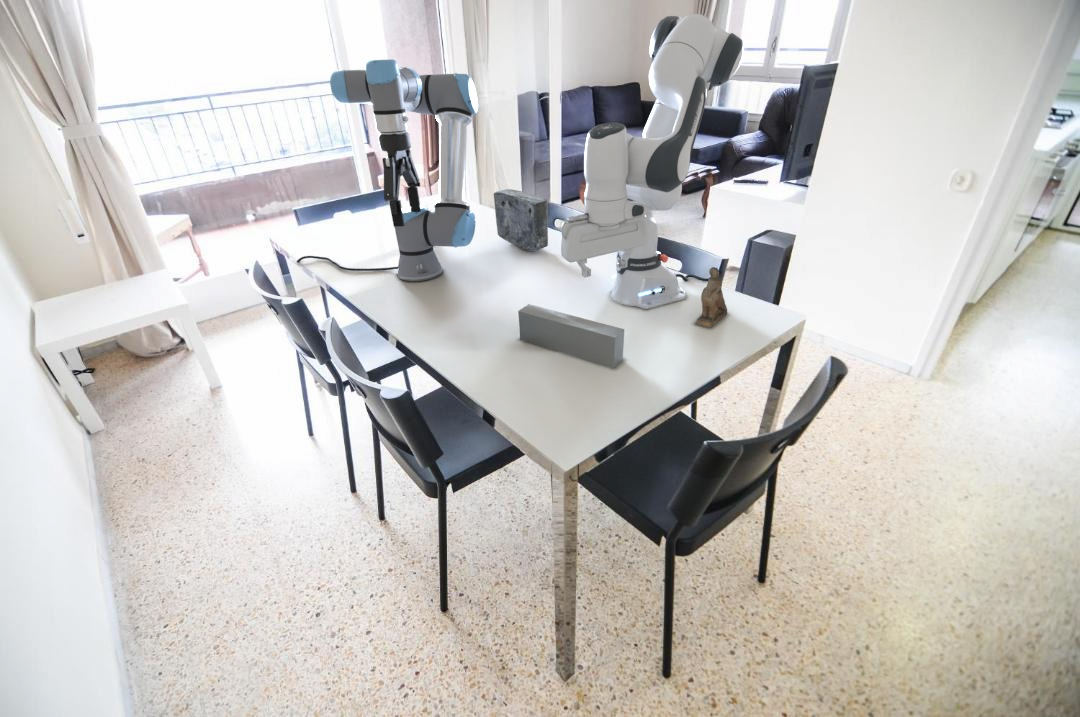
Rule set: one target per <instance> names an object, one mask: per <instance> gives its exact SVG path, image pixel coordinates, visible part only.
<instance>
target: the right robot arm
mask: <svg viewBox="0 0 1080 717" xmlns="http://www.w3.org/2000/svg"><path fill="white" fill-rule="evenodd" d="M648 54H649V58H650V59H651V61H652V63H651V65H650V68H649V72H648V85H649V88H650V91H651V93H652V94H653V96H654V98H655V99H656V100H655V101H654V104H653V106H652V109H651V111H650V114H649V116H648V118H647V121H646V123H645V125H644V128H643V130H642V134H641V135H642V136H634V135H633V134H630V133H628V131H627V127H626V125H625V124H623V123H620V122H606V123H601V124H598V125H595V126H593V127H592V128H591V129H590V130H588V132H587V135H586V140H585V144H584V145H585V147H584V157H583V176H584V179H585V190H584V194H583V195H584V196H583V197H584V198H583V200H584V201H583V202H584V203H583V204H584V206H583V207H584V210H583V211H584V213H581V214H579V215H575V216H574V215H573V216H572V215H571V216H568V217H567V219H566V220H564V221H563V222H562V224H561V235H562V236H561V242H560V243H561V244H560V245H561V246H560V254H561V255H560V256H562V258H563V259H564V260H565V261H567V262H569V263H575V262H576V264H578V266H579V268H580V269H581V277H583V278H584V279H586V278H589V277H592V268H590V267H589V266H586V264H587V263H588V259H593V258H596V257H600V256H605V255H609V254H613V253H616V261H615V267H616V268H615V270H616V273H615V274H613V275H611V279H612V280H613V279H614V285H613V288H612V291H611V293H610V297H611V299H612V300H613V301H614V302H616V303H619V304H620V305H624V306H631V307H637V308H641V309H645V310H649V309H653V308H656V307H659V306H660V307H661V306H664V305H667V304H670V303H674V302H678V301H682V300H684V299H686V293H685V291H684V290H683V289H682V288H681V287H680V286H679V280H678V278H681V279H682V281H683V282H688V281H689V278H692V279H696V280H698V281H702V282H708V279H709V278H710V277H707V278H704V277H700V276H698V275H696V274H686V275H684V274H681V273H675V272H673V270H672V271H671V270H670V269H669V268H668V267H667V266H665V264H663V263H668V261H669V257H668V256H667V255H666V254H665V253H663V254H662V253H661V252H660V251H658V241H659V230H660V229H659V224H658V221H657V220H656V219H655V217H654V214H653V212H652V211H656V212H657V211H660V212H661V211H663V212H665V211H669V210H670V209H672V208H673V207H674V206H676V204H677V203H678V201H679V200H680V198H681V195H682V190H683V183H684V182H685V181H686V179H687V176H688V174H689V170H690V165H691V159H692V153H693V149H694V145H695V142H696V138H697V136H698V131H699V128H700V125H701V122H702V118H703V114H704V110H705V107H706V101H707V93H708V92H707V90H708V91H709V92H710V91H712V90H713V88H715V87H721V86H722V85H724V84H726V83H727V82H729V81H730V79H731V78H732V77H734V75H735V74H736V73H737V71H738V69H739V68H740V65H741V63H742V60H743V56H744V41H743V39H742V38H741V37H740V36H738V35H737V34H735V33H733V32H731V33H730V32H727V31H725V30H724V29H722V28H719V27H717V26H715V25H714V24H713V21H712V20H711V19H710V18H708V17H707V16H705V15H703V14H700V13H691V14H688V15H686V16H683V18H681V17H680V16H678V15H668V16H665V17H663V18H662V19H661V20H660V21H659V22H658V24H657V25H656V26H655V28H654V30H653V32H652V34H651V37H650V42H649V50H648ZM708 83H709V85H708V89H707V84H708ZM720 273H721V272H720V271H719V274H720Z"/></svg>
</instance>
